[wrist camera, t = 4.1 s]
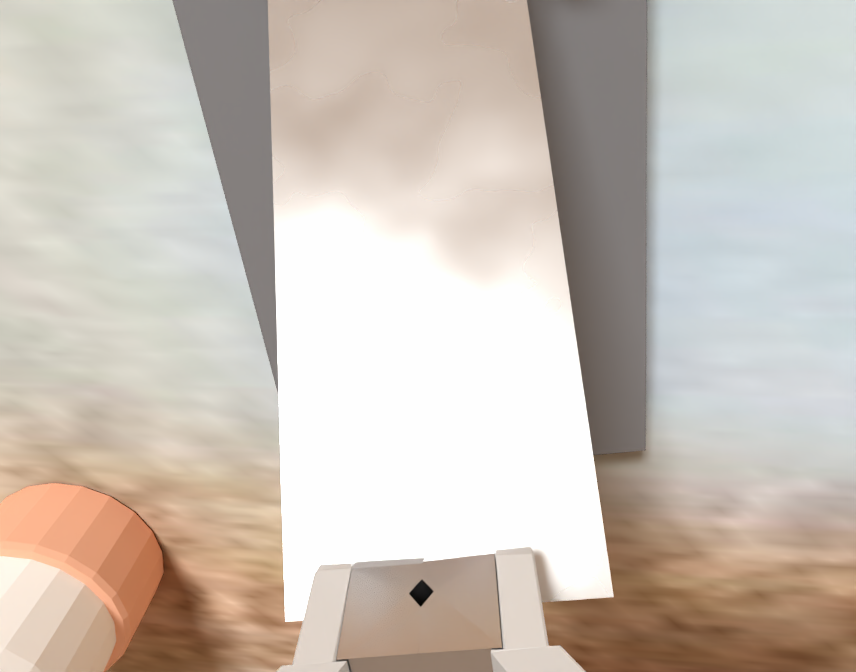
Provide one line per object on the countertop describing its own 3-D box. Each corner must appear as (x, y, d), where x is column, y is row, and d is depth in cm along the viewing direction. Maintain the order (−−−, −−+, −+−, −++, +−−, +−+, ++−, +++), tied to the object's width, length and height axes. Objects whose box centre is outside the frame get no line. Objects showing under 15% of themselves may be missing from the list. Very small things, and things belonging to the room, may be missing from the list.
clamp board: (625, -284, 16) (693, -398, 12) (631, 418, 25) (671, 508, 20) (148, -195, 17) (41, -269, 13) (312, 449, 26) (282, 542, 21)
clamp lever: (491, -180, 16) (490, -267, 14) (599, 585, 11) (617, 599, 10) (283, -144, 16) (256, -223, 14) (312, 607, 12) (279, 625, 10)
